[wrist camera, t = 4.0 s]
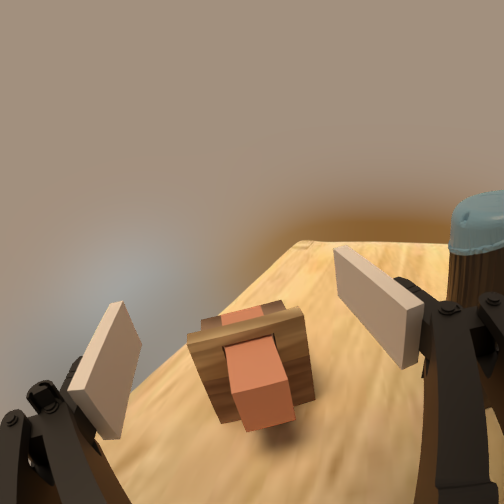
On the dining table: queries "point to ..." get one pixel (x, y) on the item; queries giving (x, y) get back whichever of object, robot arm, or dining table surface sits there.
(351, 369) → the dining table surface
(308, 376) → the guide block
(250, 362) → the peg
